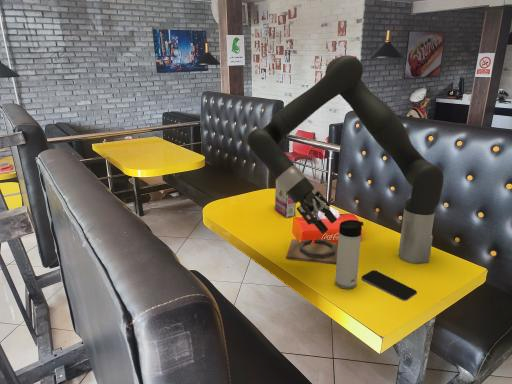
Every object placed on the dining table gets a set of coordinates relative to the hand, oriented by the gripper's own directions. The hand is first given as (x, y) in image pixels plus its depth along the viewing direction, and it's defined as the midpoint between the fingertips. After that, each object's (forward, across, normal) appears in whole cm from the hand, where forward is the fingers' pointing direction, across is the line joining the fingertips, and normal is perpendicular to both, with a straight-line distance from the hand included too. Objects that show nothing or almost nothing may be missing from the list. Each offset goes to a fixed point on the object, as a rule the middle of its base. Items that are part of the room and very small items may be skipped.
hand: (330, 226), depth 108 cm
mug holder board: (+6, +15, +18) cm, 24 cm away
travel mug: (+17, 0, +8) cm, 19 cm away
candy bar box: (-12, +44, +36) cm, 58 cm away
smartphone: (+25, +5, +1) cm, 25 cm away
